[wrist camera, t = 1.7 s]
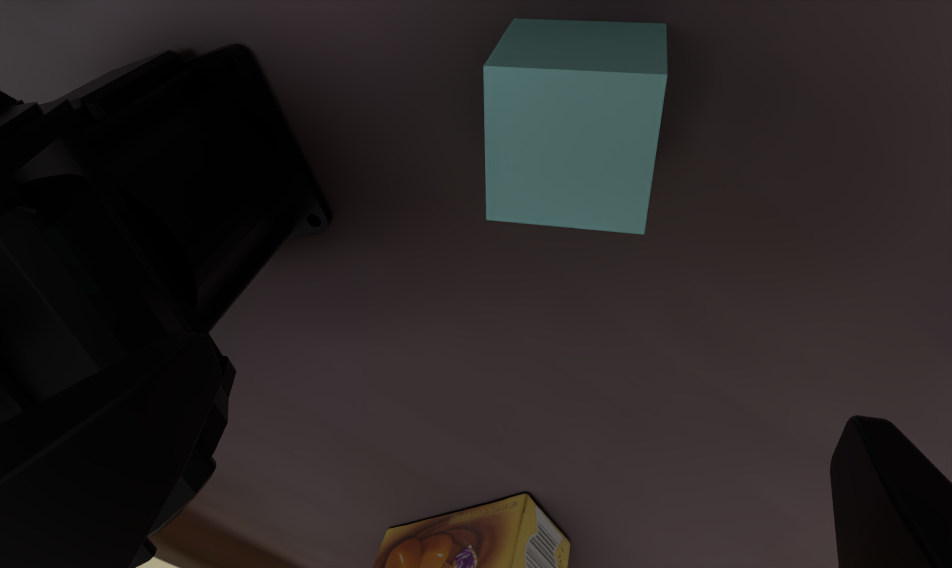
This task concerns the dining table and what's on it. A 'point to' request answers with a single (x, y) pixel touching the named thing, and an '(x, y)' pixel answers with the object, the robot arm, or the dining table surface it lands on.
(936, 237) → the dining table surface
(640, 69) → the teal block
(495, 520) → the candy box
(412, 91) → the dining table surface
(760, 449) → the dining table surface
